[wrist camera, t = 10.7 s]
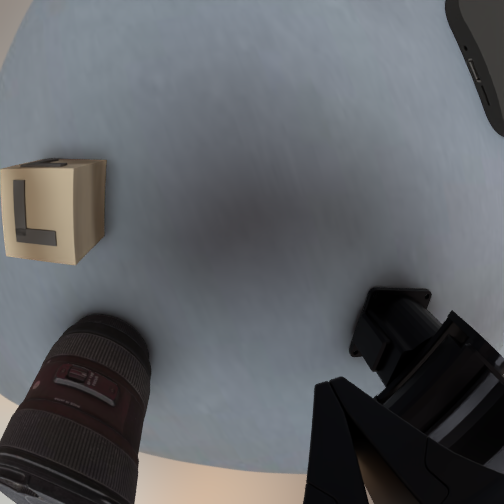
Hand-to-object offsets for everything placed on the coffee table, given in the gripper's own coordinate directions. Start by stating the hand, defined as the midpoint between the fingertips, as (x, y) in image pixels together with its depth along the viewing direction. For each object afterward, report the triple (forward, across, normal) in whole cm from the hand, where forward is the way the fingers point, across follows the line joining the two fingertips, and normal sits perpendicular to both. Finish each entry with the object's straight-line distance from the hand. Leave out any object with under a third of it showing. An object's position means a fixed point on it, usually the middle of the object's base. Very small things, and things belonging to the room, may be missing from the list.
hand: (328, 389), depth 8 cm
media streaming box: (+14, -27, -12) cm, 33 cm away
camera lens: (+13, +14, +6) cm, 20 cm away
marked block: (+13, +12, -6) cm, 19 cm away
